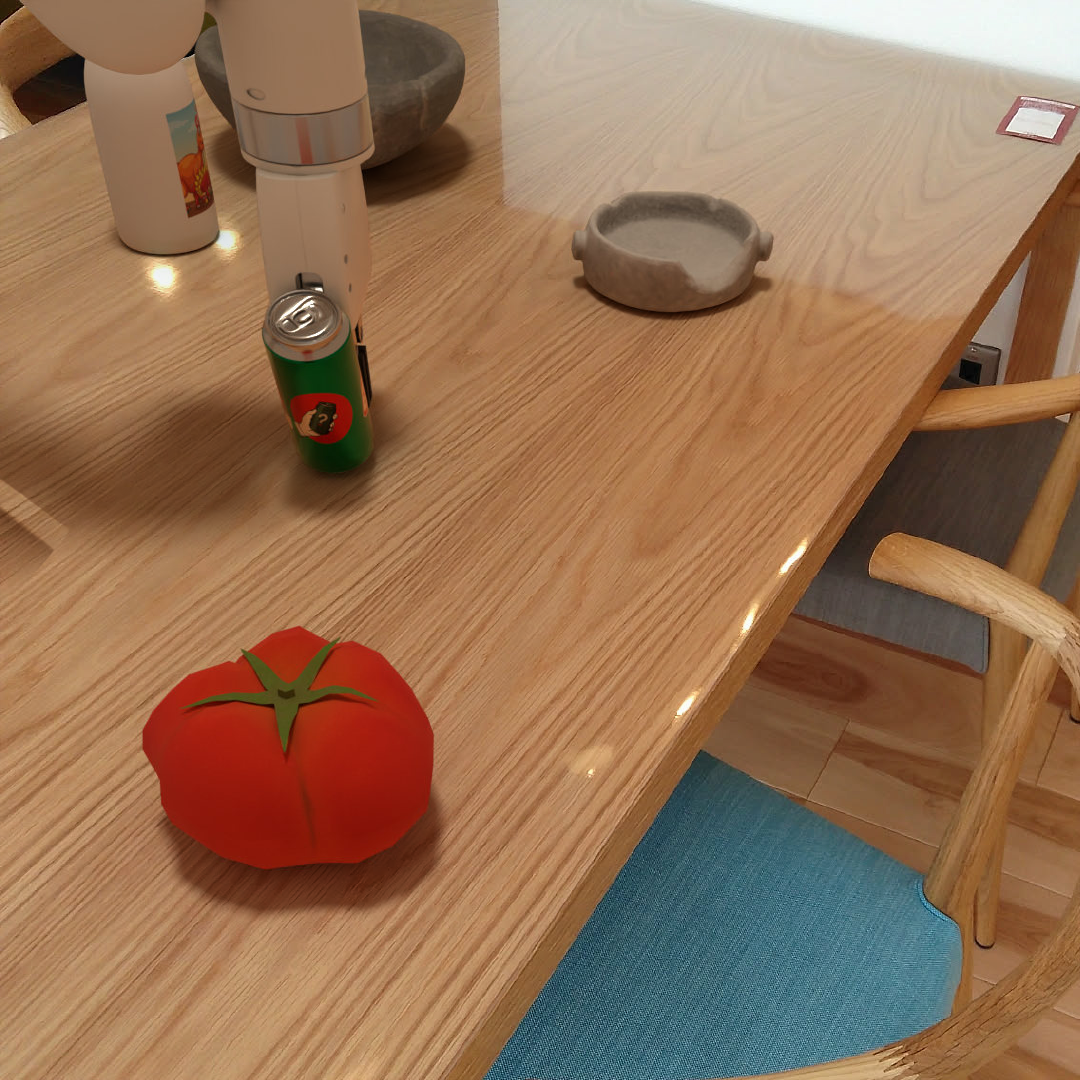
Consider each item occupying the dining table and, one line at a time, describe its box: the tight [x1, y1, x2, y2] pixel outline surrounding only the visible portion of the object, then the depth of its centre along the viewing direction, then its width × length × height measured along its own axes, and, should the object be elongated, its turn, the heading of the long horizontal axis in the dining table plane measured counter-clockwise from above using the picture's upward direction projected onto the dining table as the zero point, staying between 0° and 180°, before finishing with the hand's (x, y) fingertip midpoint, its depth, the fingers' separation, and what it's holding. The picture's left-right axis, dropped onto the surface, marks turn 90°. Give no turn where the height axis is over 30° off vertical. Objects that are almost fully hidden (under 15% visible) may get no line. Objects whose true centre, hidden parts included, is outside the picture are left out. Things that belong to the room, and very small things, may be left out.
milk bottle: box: [83, 58, 220, 255], centre depth 104 cm, size 8×8×20 cm
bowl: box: [194, 9, 466, 171], centre depth 122 cm, size 23×22×10 cm
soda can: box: [261, 289, 376, 474], centre depth 85 cm, size 5×5×12 cm
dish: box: [571, 190, 775, 313], centre depth 111 cm, size 14×14×5 cm
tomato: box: [141, 625, 435, 870], centre depth 66 cm, size 14×13×9 cm
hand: (347, 404), depth 92 cm, fingers closed
